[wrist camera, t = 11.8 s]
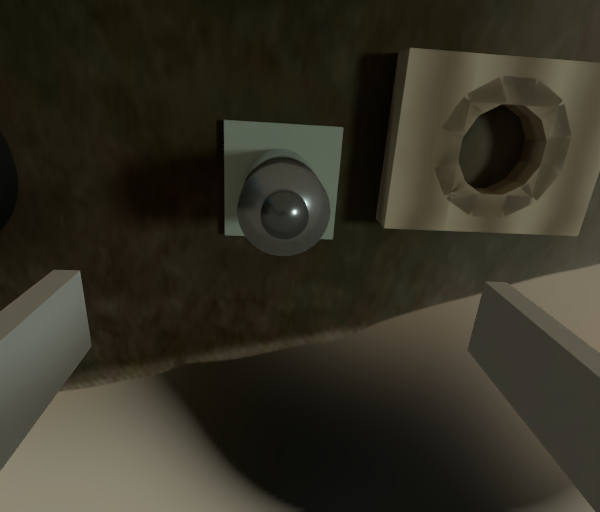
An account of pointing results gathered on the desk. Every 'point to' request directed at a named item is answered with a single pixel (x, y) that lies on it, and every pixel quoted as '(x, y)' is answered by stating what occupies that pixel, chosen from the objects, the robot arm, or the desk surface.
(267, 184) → the gray knobbed peg
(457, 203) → the housing
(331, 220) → the mat
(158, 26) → the desk surface
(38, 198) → the desk surface
